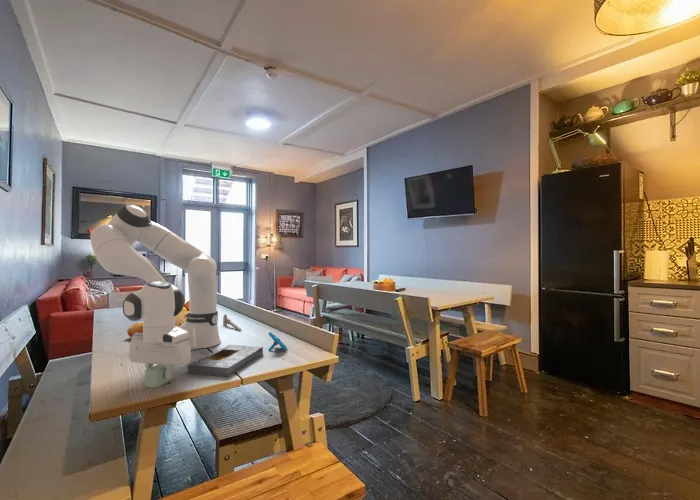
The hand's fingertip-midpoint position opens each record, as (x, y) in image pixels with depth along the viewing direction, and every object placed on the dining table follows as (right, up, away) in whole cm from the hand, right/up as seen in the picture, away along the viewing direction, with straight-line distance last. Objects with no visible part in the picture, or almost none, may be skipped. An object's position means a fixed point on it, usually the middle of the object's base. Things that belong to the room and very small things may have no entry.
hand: (159, 377), depth 106 cm
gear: (+30, -2, +34) cm, 45 cm away
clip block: (0, -2, 0) cm, 2 cm away
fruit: (-41, -2, +54) cm, 68 cm away
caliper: (-3, -2, +72) cm, 73 cm away
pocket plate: (+15, -2, +17) cm, 23 cm away
